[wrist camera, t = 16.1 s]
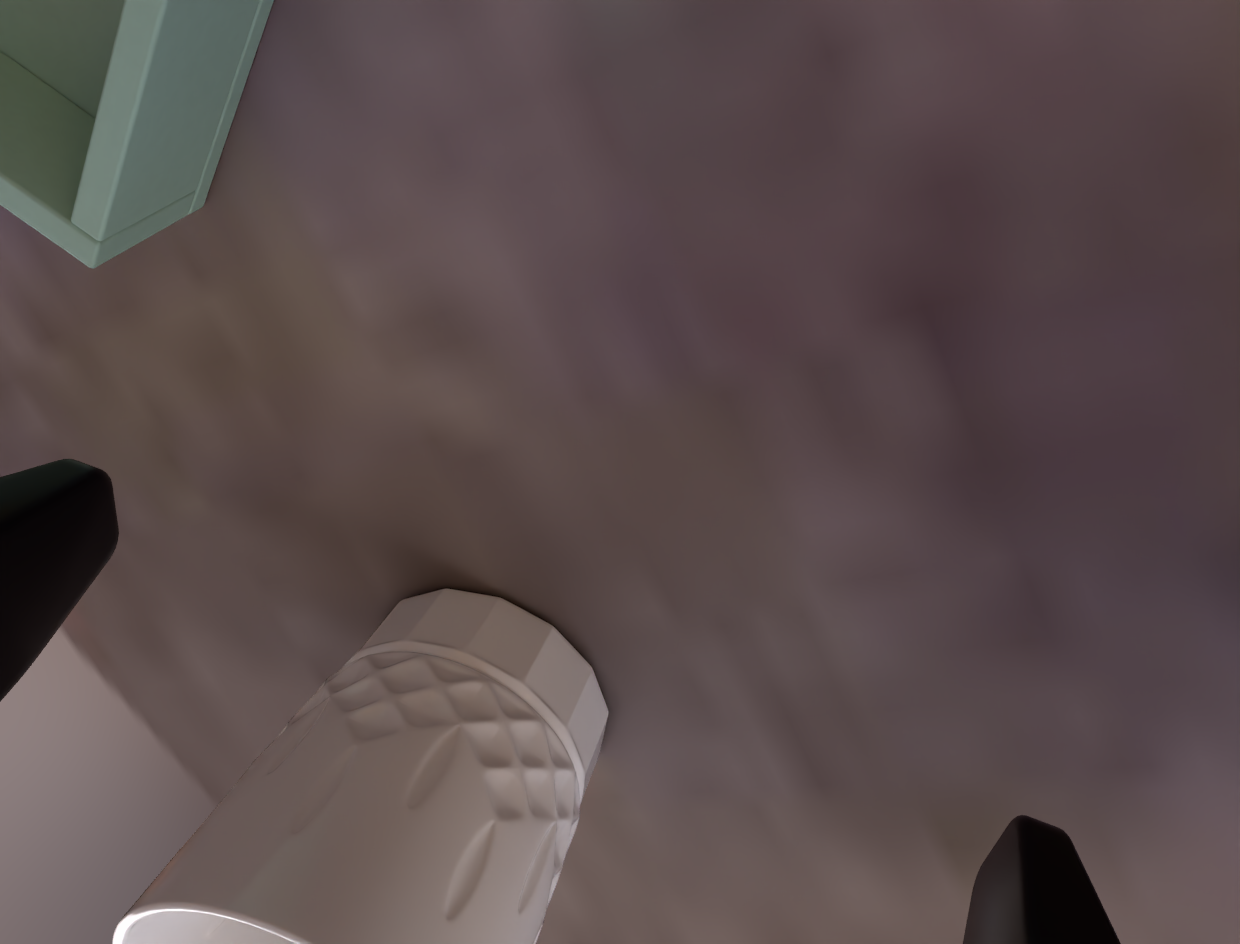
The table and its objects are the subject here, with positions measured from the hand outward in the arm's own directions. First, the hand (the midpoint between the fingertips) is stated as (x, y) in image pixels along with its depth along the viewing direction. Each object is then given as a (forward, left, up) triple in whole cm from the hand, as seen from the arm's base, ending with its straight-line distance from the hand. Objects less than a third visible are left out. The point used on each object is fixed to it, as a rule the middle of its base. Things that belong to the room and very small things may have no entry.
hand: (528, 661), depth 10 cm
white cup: (+4, +15, -12) cm, 20 cm away
